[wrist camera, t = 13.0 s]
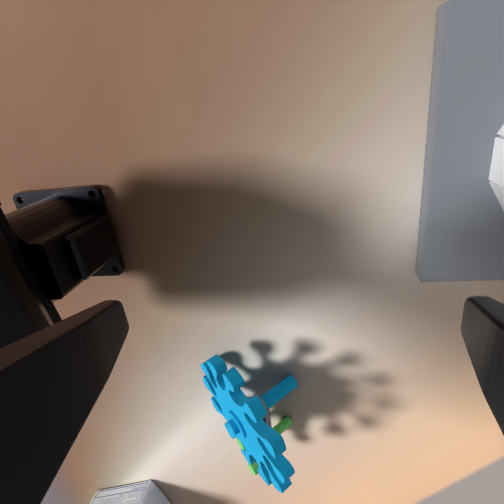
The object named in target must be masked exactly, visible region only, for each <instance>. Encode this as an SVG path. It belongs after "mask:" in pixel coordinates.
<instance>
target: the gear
mask: <svg viewBox="0 0 504 504" xmlns="http://www.w3.org/2000/svg"><path fill="white" fill-rule="evenodd" d="M201 367H202V369H203V371H204V373H205V374H206V375H205V376H204V377H203V380H204V383H205V385H206V387H207V388H208V389H209V390H210V392H211V393H212V394H213V397H212V398H211V400H212V403H213V405H214V407H215V409H216V410H217V411H218V412H219V413H221V414H222V415H223V417H224V418H225V419H226V420H227V423H225V424H224V425H225V427H226V429H227V431H228V433H229V434H230V436H231V437H232V438H233V439H234V438H235V437H236V438H237V442H238V444H239V445H240V447H241V448H242V449H241V451H242V453H243V455H244V456H245V458H246V460H247V461H248V466H249V468H250V470H251V471H252V473H253V474H254V475H257V474H258V473H259V474H260V476H261V477H262V478H263V480H264V481H265V482H266V483H267V484H268V485H270V484H271V483H273V485H274V487H275V488H276V489H277V490H278V491H280V492H281V493H283V492H284V491H285V490H286V489H287V488H288V487H289V486H290V485H291V484H292V483H291V481H290V479H289V478H290V477H291V476H292V475H293V474H294V471H295V470H294V468H293V467H292V465H291V464H290V462H289V461H288V460H287V459H286V458H285V457H284V456H283V455H282V453H283V452H284V451H285V450H286V446H285V443H284V440H283V438H282V436H281V435H280V434H281V433H283V432H284V431H285V430H286V429H287V428H288V427H290V426H291V425H292V424H293V423H292V420H291V419H290V418H289V417H288V416H287V417H285V418H284V419H283V420H282V421H281V422H279V423H278V424H277V425H276V426H275V427H273V428H272V427H271V421H270V414H269V410H268V409H269V408H271V407H272V406H273V405H275V404H276V403H277V402H278V401H280V400H281V399H282V398H283V397H285V396H286V395H287V394H288V393H290V392H291V391H292V390H294V389H295V388H296V387H297V386H298V384H297V381H296V380H295V378H294V377H293V376H292V375H289V376H287V377H286V378H285V379H283V380H282V381H281V382H279V383H278V384H277V385H276V386H274V387H273V388H272V389H270V390H269V391H268V392H266V393H265V394H264V395H262V396H261V397H260V396H258V395H255V396H253V397H252V398H251V399H250V398H248V397H246V396H245V395H244V394H243V392H242V391H241V389H240V387H242V386H243V385H244V384H245V383H244V379H243V378H242V376H241V375H240V374H239V372H238V371H237V370H236V369H235V367H232V368H231V369H229V370H228V371H226V370H227V366H226V364H225V362H224V360H223V359H222V358H221V357H220V356H218V355H217V354H216V355H215V356H213V357H212V358H210V359H208V360H207V361H206V362H204V363H203V364H201Z"/></svg>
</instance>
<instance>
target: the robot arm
mask: <svg viewBox="0 0 504 504" xmlns="http://www.w3.org/2000/svg"><path fill="white" fill-rule="evenodd" d="M92 191H93V192H94V193H95V196H94V195H93V194H92ZM21 198H22V199H23V201H22V199H21ZM13 200H14V203H15V205H16V207H17V210H15V211H13V212H10V213H8V214H5V215H4V213H3V211H2V209H1V207H0V504H41V502H42V500H43V498H44V497H45V495H46V493H47V491H48V489H49V487H50V486H51V484H52V482H53V480H54V478H55V476H56V474H57V473H58V471H59V469H60V467H61V465H62V463H63V462H64V460H65V458H66V456H67V454H68V452H69V451H70V449H71V447H72V445H73V443H74V441H75V440H76V438H77V436H78V434H79V432H80V430H81V429H82V427H83V425H84V423H85V421H86V419H87V417H88V416H89V414H90V412H91V410H92V408H93V406H94V405H95V403H96V401H97V399H98V397H99V395H100V394H101V392H102V390H103V388H104V386H105V384H106V382H107V380H108V378H109V376H110V374H111V372H112V369H113V367H114V365H115V362H116V360H117V358H118V355H119V353H120V350H121V348H122V346H123V343H124V341H125V339H126V336H127V334H128V330H129V324H128V321H127V318H126V315H125V311H124V308H123V305H122V303H121V302H120V301H117V300H109V301H103V302H101V303H99V304H97V305H95V306H92V307H90V308H88V309H86V310H84V311H81V312H79V313H77V314H75V315H73V316H70V317H68V318H66V319H64V320H62V319H61V317H60V315H59V314H58V312H57V310H56V308H55V306H54V304H53V303H54V302H55V301H56V300H59V299H62V298H63V297H64V296H66V295H67V294H68V293H69V292H70V291H72V290H73V289H74V288H75V287H76V286H78V285H79V284H80V283H81V282H82V281H84V280H87V279H88V278H89V277H90V276H114V275H120V274H121V273H122V272H123V271H124V269H125V267H124V263H123V260H122V257H121V253H120V247H119V244H118V241H117V237H116V234H115V231H114V227H113V224H112V221H111V218H110V217H109V214H108V210H107V207H106V204H105V200H104V197H103V194H102V191H101V189H100V188H99V187H97V186H95V185H90V186H79V187H68V188H56V189H45V190H34V191H22V192H19V193H16V194H14V196H13ZM0 205H1V203H0ZM115 266H116V267H118V269H119V270H118V269H116V268H115ZM461 332H462V336H463V339H464V342H465V345H466V348H467V350H468V353H469V356H470V359H471V362H472V364H473V367H474V370H475V373H476V376H477V378H478V381H479V384H480V387H481V389H482V392H483V394H484V396H485V398H486V401H487V403H488V405H489V407H490V409H491V411H492V413H493V415H494V417H495V419H496V421H497V423H498V425H499V427H500V429H501V431H502V433H503V435H504V304H502V303H500V302H498V301H496V300H494V299H491V298H489V297H486V296H474V297H468V298H467V299H466V301H465V304H464V311H463V317H462V323H461Z"/></svg>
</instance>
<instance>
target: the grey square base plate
mask: <svg viewBox="0 0 504 504" xmlns="http://www.w3.org/2000/svg"><path fill="white" fill-rule="evenodd" d="M416 274H417V276H418V278H419V279H420V281H421V282H429V281H472V280H504V0H453V1H447V2H445V3H443V4H442V5H440V6H439V7H437V19H436V31H435V43H434V55H433V67H432V80H431V92H430V104H429V116H428V128H427V140H426V152H425V164H424V176H423V188H422V200H421V212H420V224H419V236H418V248H417V260H416Z"/></svg>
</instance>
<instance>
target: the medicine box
mask: <svg viewBox="0 0 504 504" xmlns="http://www.w3.org/2000/svg"><path fill="white" fill-rule="evenodd" d="M90 504H171V502H170V501H169V500H168V498H167V497H166V496H165V495H164V493H163V492H162V491H161V490H160V489H159V488H158V486H157V485H156V484H155V483H154V482H153V481H152V480H149V481H144V482H139V483H134V484H129V485H124V486H119V487H114V488H109V489H104V490H98V491H97V492H96V493H95V495H94V497H93V499H92V501H91V502H90Z"/></svg>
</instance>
